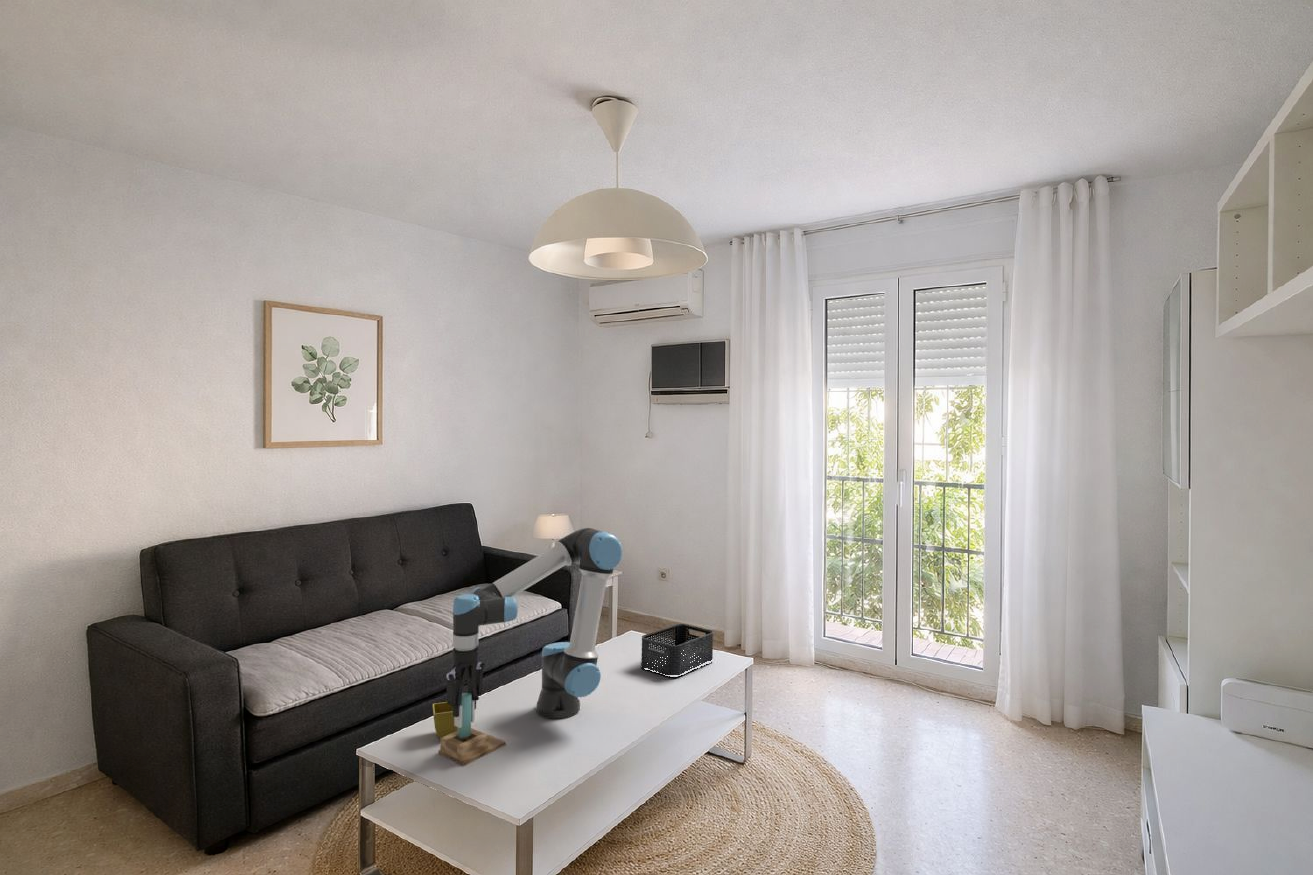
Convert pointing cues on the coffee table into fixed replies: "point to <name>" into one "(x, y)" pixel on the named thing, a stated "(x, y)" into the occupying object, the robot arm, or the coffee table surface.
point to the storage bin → (676, 649)
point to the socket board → (468, 746)
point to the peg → (465, 716)
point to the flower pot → (443, 719)
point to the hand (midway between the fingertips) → (464, 723)
